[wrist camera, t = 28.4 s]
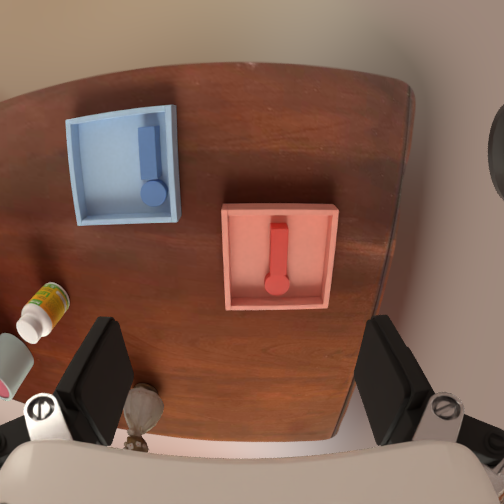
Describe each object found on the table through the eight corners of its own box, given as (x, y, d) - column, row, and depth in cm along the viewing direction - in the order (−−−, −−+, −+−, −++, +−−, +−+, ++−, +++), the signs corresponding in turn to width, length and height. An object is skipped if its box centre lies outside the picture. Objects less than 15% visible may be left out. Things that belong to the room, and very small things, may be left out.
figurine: (122, 378, 50) (97, 445, 37) (155, 375, 50) (135, 447, 36) (141, 406, 54) (123, 470, 40) (173, 404, 53) (160, 472, 39)
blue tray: (176, 105, 33) (171, 104, 31) (181, 215, 39) (177, 222, 36) (75, 119, 33) (65, 120, 31) (86, 219, 38) (77, 225, 36)
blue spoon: (164, 124, 34) (159, 125, 32) (169, 203, 37) (165, 209, 35) (138, 127, 33) (132, 128, 31) (144, 204, 37) (138, 210, 35)
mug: (-1, 325, 46) (-27, 356, 37) (35, 349, 48) (11, 384, 39) (-1, 363, 51) (-21, 392, 42) (31, 385, 53) (13, 417, 44)
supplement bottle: (59, 277, 42) (27, 312, 33) (76, 307, 44) (48, 345, 35) (38, 285, 43) (6, 319, 34) (54, 313, 45) (26, 349, 36)
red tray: (333, 203, 38) (338, 209, 36) (323, 297, 44) (327, 308, 41) (222, 203, 38) (221, 209, 36) (226, 299, 44) (225, 310, 41)
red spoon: (291, 222, 39) (294, 228, 37) (287, 290, 42) (289, 299, 40) (264, 222, 39) (265, 228, 37) (263, 291, 42) (264, 300, 40)
